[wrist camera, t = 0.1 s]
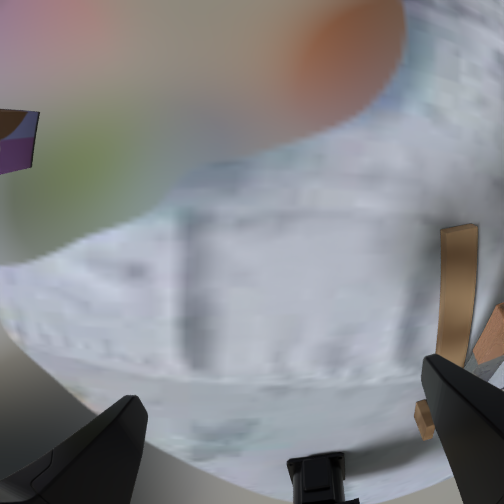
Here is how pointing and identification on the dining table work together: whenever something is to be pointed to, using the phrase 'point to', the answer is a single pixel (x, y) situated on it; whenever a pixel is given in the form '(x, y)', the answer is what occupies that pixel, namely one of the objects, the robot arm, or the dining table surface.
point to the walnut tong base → (453, 305)
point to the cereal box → (17, 139)
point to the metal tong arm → (489, 347)
